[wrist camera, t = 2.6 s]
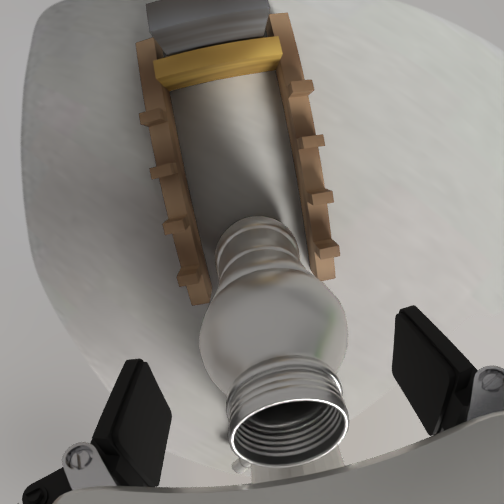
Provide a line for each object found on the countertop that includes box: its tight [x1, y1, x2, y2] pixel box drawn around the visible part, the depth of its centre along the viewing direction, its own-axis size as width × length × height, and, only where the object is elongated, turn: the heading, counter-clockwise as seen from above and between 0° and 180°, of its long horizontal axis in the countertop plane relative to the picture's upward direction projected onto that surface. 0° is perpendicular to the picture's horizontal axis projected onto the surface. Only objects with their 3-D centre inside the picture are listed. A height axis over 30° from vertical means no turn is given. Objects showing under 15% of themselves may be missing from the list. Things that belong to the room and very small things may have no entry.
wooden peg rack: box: [136, 0, 340, 306], centre depth 20 cm, size 22×12×9 cm, turn 11°
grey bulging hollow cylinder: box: [199, 216, 349, 468], centre depth 17 cm, size 6×7×20 cm
